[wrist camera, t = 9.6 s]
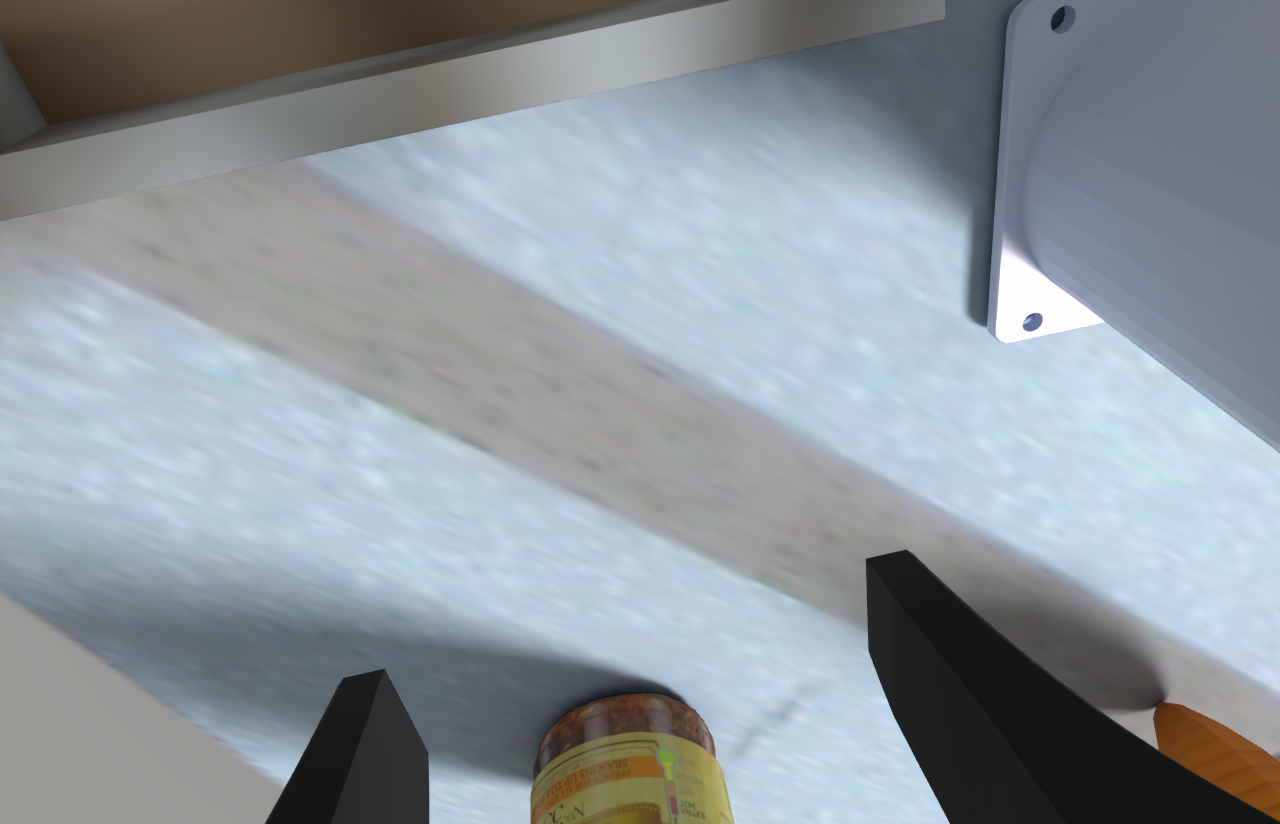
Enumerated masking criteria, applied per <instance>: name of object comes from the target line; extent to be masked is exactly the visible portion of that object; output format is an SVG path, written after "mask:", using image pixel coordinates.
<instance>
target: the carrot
mask: <svg viewBox="0 0 1280 824" xmlns="http://www.w3.org/2000/svg"><path fill="white" fill-rule="evenodd" d="M1153 720H1154V725H1155V731H1156V737H1157V743H1158V748H1159V751H1160V752H1162V753H1163V754H1165V755H1167V756H1168V757H1170V758H1171V759H1173V760H1175V761H1176V762H1178V763H1179V764H1181V765H1183V766H1184V767H1186V768H1188V769H1189V770H1191V771H1192V772H1194V773H1196V774H1197V775H1199V776H1200V777H1202V778H1204V779H1205V780H1207V781H1209V782H1210V783H1212V784H1214V785H1216V786H1218V787H1219V788H1221V789H1223V790H1225V791H1227V792H1228V793H1230V794H1232V795H1234V796H1235V797H1237V798H1239V799H1241V800H1243V801H1244V802H1246V803H1248V804H1250V805H1252V806H1253V807H1255V808H1257V809H1259V810H1260V811H1262V812H1264V813H1266V814H1268V815H1269V816H1271V817H1273V818H1275V819H1277V820H1278V821H1280V762H1278V761H1277V760H1276V759H1275V758H1273V757H1272V756H1271V755H1270V754H1268V753H1267V752H1266V751H1265V750H1263V749H1262V748H1260V747H1258V746H1257V745H1255V744H1253V743H1252V742H1250V741H1249V740H1247V739H1245V738H1244V737H1242V736H1241V735H1239V734H1237V733H1236V732H1234V731H1232V730H1231V729H1229V728H1228V727H1226V726H1224V725H1222V724H1220V723H1218V722H1216V721H1214V720H1212V719H1210V718H1208V717H1206V716H1204V715H1202V714H1200V713H1198V712H1196V711H1193V710H1191V709H1189V708H1187V707H1185V706H1183V705H1179V704H1173V703H1167V702H1160V703H1158V704H1157V706H1156V710H1155V713H1154V717H1153Z"/></svg>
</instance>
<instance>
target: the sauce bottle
mask: <svg viewBox="0 0 1280 824" xmlns="http://www.w3.org/2000/svg"><path fill="white" fill-rule="evenodd" d="M533 772H534V783H533V786H532V791H531V824H734V820H733V816H732V811H731V806H730V802H729V797H728V793H727V788H726V784H725V780H724V775H723V771H722V769H721V767H720V765H719V763H718V762H717V760H716V756H715V746H714V741H713V738H712V735H711V734H710V732H709V731H708V728H707V726H706V724H705V723H704V720H703V719H702V718H701V717H700V715H699V714H698V713H697V712H696V710H694V709H691V708H690V707H688V706H687V705H685V704H684V703H682V702H680V701H677V700H674V699H672V698H670V697H667V696H665V695H661V694H653V693H652V694H645V693H640V694H623V695H619V696H613V697H607V698H602V699H598V700H594V701H592V702H590V703H587V704H586V705H584V706H578V707H576V708H575V709H574V710H573V711H572V712H569V713H566V714H564V715H563V716H562V717H561V718H560V719H559V720H558V722H557V723H556V724H554V726H553V727H552V728H551V729H550V731H549V732H548V733H547V735H546V737H545V738H544V740H543V743H542V744H541V745H540V749H539V753H538V756H537V759H536V760H535V763H534V768H533Z"/></svg>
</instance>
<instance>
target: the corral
mask: <svg viewBox="0 0 1280 824" xmlns="http://www.w3.org/2000/svg"><path fill="white" fill-rule="evenodd" d="M945 8H946V0H0V221H3V220H8V219H13V218H17V217H22V216H27V215H31V214H36V213H41V212H45V211H50V210H55V209H59V208H64V207H69V206H73V205H78V204H83V203H87V202H92V201H97V200H101V199H106V198H111V197H115V196H120V195H125V194H129V193H134V192H139V191H143V190H148V189H153V188H157V187H162V186H167V185H171V184H176V183H181V182H185V181H190V180H195V179H200V178H204V177H209V176H214V175H218V174H223V173H228V172H232V171H237V170H242V169H246V168H251V167H256V166H260V165H265V164H270V163H274V162H279V161H284V160H288V159H293V158H298V157H302V156H307V155H312V154H316V153H321V152H326V151H330V150H335V149H340V148H344V147H349V146H354V145H358V144H363V143H368V142H372V141H377V140H382V139H387V138H391V137H396V136H401V135H405V134H410V133H415V132H419V131H424V130H429V129H433V128H438V127H443V126H447V125H452V124H457V123H461V122H466V121H471V120H475V119H480V118H485V117H489V116H494V115H499V114H503V113H508V112H513V111H517V110H522V109H527V108H531V107H536V106H541V105H545V104H550V103H555V102H559V101H564V100H569V99H574V98H578V97H583V96H588V95H592V94H597V93H602V92H606V91H611V90H616V89H620V88H625V87H630V86H634V85H639V84H644V83H648V82H653V81H658V80H662V79H667V78H672V77H676V76H681V75H686V74H690V73H695V72H700V71H704V70H709V69H714V68H718V67H723V66H728V65H732V64H737V63H742V62H746V61H751V60H756V59H761V58H765V57H770V56H775V55H779V54H784V53H789V52H793V51H798V50H803V49H807V48H812V47H817V46H821V45H826V44H831V43H835V42H840V41H845V40H849V39H854V38H859V37H863V36H868V35H873V34H877V33H882V32H887V31H891V30H896V29H901V28H905V27H910V26H915V25H919V24H924V23H929V22H933V21H938V20H943V19H945Z"/></svg>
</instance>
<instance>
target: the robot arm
mask: <svg viewBox="0 0 1280 824" xmlns="http://www.w3.org/2000/svg"><path fill="white" fill-rule="evenodd" d="M1061 7H1064V9H1065V16H1064V19H1063V22H1062V23H1061V24H1060V26H1059V27H1058V28H1056V29H1054V30H1052V29H1051V19H1052V16H1053V14H1054V13H1055V12H1056V11H1057V10H1058V9H1059V8H1061ZM1032 313H1035V314H1034V317H1033V318H1032V320H1031V321H1030V322H1028V323H1026V324H1024V325H1022V324H1023V322H1024V319H1025V318H1026V317H1027V316H1028V315H1030V314H1032ZM1103 322H1106V323H1107V324H1109V325H1110V326H1111V327H1113V328H1114V329H1115V330H1117V331H1118V332H1119V333H1121V334H1122V335H1123V336H1125V337H1126V338H1127V339H1129V340H1130V341H1131V342H1133V343H1134V344H1135V345H1137V346H1138V347H1139V348H1141V349H1142V350H1143V351H1145V352H1146V353H1147V354H1149V355H1150V356H1151V357H1153V358H1154V359H1155V360H1157V361H1158V362H1159V363H1161V364H1162V365H1163V366H1165V367H1166V368H1167V369H1169V370H1170V371H1171V372H1173V373H1174V374H1175V375H1177V376H1178V377H1179V378H1181V379H1182V380H1183V381H1185V382H1186V383H1187V384H1189V385H1190V386H1191V387H1193V388H1194V389H1195V390H1197V391H1198V392H1199V393H1201V394H1202V395H1203V396H1205V397H1206V398H1207V399H1209V400H1210V401H1211V402H1213V403H1214V404H1215V405H1217V406H1218V407H1219V408H1221V409H1222V410H1223V411H1224V412H1226V413H1227V414H1228V415H1230V416H1231V417H1232V418H1234V419H1235V420H1236V421H1238V422H1239V423H1240V424H1242V425H1243V426H1244V427H1246V428H1247V429H1248V430H1250V431H1251V432H1252V433H1254V434H1255V435H1256V436H1258V437H1259V438H1260V439H1262V440H1263V441H1264V442H1266V443H1267V444H1268V445H1270V446H1271V447H1272V448H1274V449H1275V450H1276V451H1278V452H1279V453H1280V0H1023V1H1021V2H1020V3H1019V4H1018V5H1017V6H1016V7H1015V8H1014V10H1013V12H1012V13H1011V15H1010V17H1009V21H1008V25H1007V34H1006V49H1005V64H1004V79H1003V94H1002V109H1001V124H1000V139H999V154H998V169H997V184H996V199H995V214H994V229H993V244H992V259H991V274H990V289H989V304H988V319H987V327H988V331H989V333H990V334H991V335H992V336H993V337H994V338H995V339H996V340H997V341H999V342H1001V343H1014V342H1018V341H1023V340H1027V339H1032V338H1036V337H1040V336H1045V335H1049V334H1054V333H1058V332H1063V331H1067V330H1072V329H1076V328H1081V327H1085V326H1090V325H1094V324H1099V323H1103ZM866 579H867V613H868V647H869V653H870V656H871V659H872V661H873V664H874V667H875V669H876V672H877V674H878V677H879V680H880V682H881V685H882V688H883V690H884V693H885V695H886V698H887V700H888V703H889V705H890V708H891V710H892V713H893V715H894V717H895V719H896V721H897V723H898V725H899V727H900V729H901V731H902V733H903V735H904V737H905V739H906V741H907V742H908V744H909V746H910V748H911V750H912V752H913V754H914V756H915V758H916V760H917V762H918V764H919V766H920V767H921V769H922V771H923V773H924V775H925V777H926V779H927V781H928V783H929V785H930V787H931V788H932V790H933V792H934V794H935V796H936V798H937V800H938V802H939V804H940V806H941V807H942V809H943V811H944V813H945V815H946V817H947V819H948V821H949V823H950V824H1280V821H1278V820H1277V819H1275V818H1273V817H1271V816H1269V815H1268V814H1266V813H1264V812H1262V811H1260V810H1259V809H1257V808H1255V807H1253V806H1252V805H1250V804H1248V803H1246V802H1244V801H1243V800H1241V799H1239V798H1237V797H1235V796H1234V795H1232V794H1230V793H1228V792H1227V791H1225V790H1223V789H1221V788H1219V787H1218V786H1216V785H1214V784H1212V783H1210V782H1209V781H1207V780H1205V779H1204V778H1202V777H1200V776H1199V775H1197V774H1196V773H1194V772H1192V771H1191V770H1189V769H1188V768H1186V767H1184V766H1183V765H1181V764H1179V763H1178V762H1176V761H1175V760H1173V759H1171V758H1170V757H1168V756H1167V755H1165V754H1163V753H1162V752H1160V751H1159V750H1157V749H1156V748H1154V747H1153V746H1151V745H1149V744H1148V743H1146V742H1145V741H1143V740H1142V739H1140V738H1139V737H1137V736H1136V735H1134V734H1133V733H1131V732H1130V731H1128V730H1127V729H1125V728H1124V727H1122V726H1121V725H1119V724H1118V723H1117V722H1115V721H1114V720H1112V719H1111V718H1109V717H1108V716H1106V715H1105V714H1104V713H1102V712H1101V711H1099V710H1098V709H1097V708H1095V707H1094V706H1092V705H1091V704H1090V703H1088V702H1087V701H1085V700H1084V699H1083V698H1081V697H1080V696H1079V695H1077V694H1076V693H1075V692H1073V691H1072V690H1071V689H1069V688H1068V687H1067V686H1065V685H1064V684H1063V683H1061V682H1060V681H1059V680H1057V679H1056V678H1055V677H1054V676H1052V675H1051V674H1050V673H1048V672H1047V671H1046V670H1045V669H1043V668H1042V667H1041V666H1040V665H1038V664H1037V663H1036V662H1034V661H1033V660H1032V659H1031V658H1030V657H1028V656H1027V655H1026V654H1025V653H1023V652H1022V651H1021V650H1020V649H1019V648H1017V647H1016V646H1015V645H1014V644H1013V643H1011V642H1010V641H1009V640H1008V639H1007V638H1005V637H1004V636H1003V635H1002V634H1000V633H999V632H998V631H997V630H996V629H994V628H993V627H992V626H991V625H990V624H989V623H988V622H986V621H985V620H984V619H983V618H982V617H981V616H979V615H978V614H977V613H976V612H975V611H974V610H973V609H972V608H970V607H969V606H968V605H967V604H966V603H965V602H964V601H963V600H962V599H960V598H959V597H958V596H957V595H956V594H955V593H954V592H953V591H952V590H951V589H949V588H948V587H947V586H946V585H945V584H944V583H943V582H942V581H941V580H940V579H939V578H938V577H937V576H936V575H935V574H933V573H932V572H931V571H930V570H929V569H928V568H927V567H926V566H925V565H924V564H923V563H922V562H921V561H920V560H919V559H918V558H917V557H916V556H915V555H914V554H912V553H911V552H909V551H908V550H902V551H898V552H894V553H889V554H885V555H881V556H876V557H872V558H867V559H866ZM265 824H429V764H428V751H427V749H426V748H425V746H424V744H423V742H422V740H421V738H420V736H419V734H418V732H417V730H416V728H415V726H414V724H413V722H412V721H411V719H410V717H409V715H408V713H407V711H406V709H405V707H404V705H403V703H402V701H401V699H400V697H399V695H398V694H397V692H396V690H395V688H394V686H393V684H392V682H391V680H390V678H389V676H388V674H387V672H386V670H385V669H382V670H377V671H373V672H368V673H364V674H360V675H355V676H351V677H346V678H343V680H342V681H341V683H340V684H339V686H338V687H337V689H336V691H335V693H334V695H333V697H332V699H331V701H330V703H329V705H328V707H327V709H326V711H325V713H324V715H323V717H322V719H321V721H320V722H319V724H318V726H317V728H316V730H315V732H314V734H313V736H312V738H311V740H310V742H309V744H308V746H307V748H306V749H305V751H304V753H303V755H302V757H301V759H300V761H299V763H298V765H297V766H296V768H295V770H294V772H293V774H292V776H291V778H290V779H289V781H288V783H287V785H286V787H285V788H284V790H283V792H282V794H281V796H280V798H279V799H278V801H277V803H276V805H275V806H274V808H273V810H272V812H271V814H270V815H269V817H268V819H267V821H266V822H265Z"/></svg>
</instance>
